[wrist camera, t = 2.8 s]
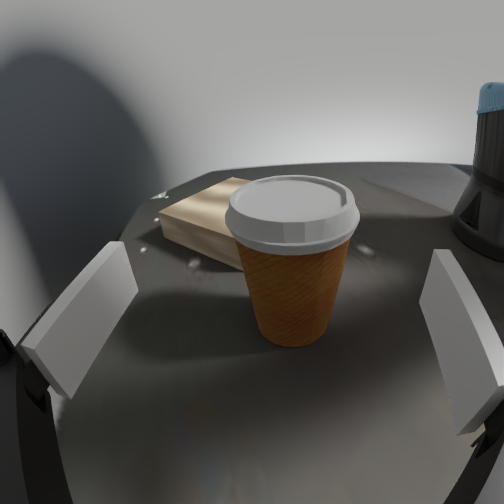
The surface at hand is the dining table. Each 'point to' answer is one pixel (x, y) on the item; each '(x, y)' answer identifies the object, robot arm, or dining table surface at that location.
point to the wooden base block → (204, 222)
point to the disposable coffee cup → (292, 251)
